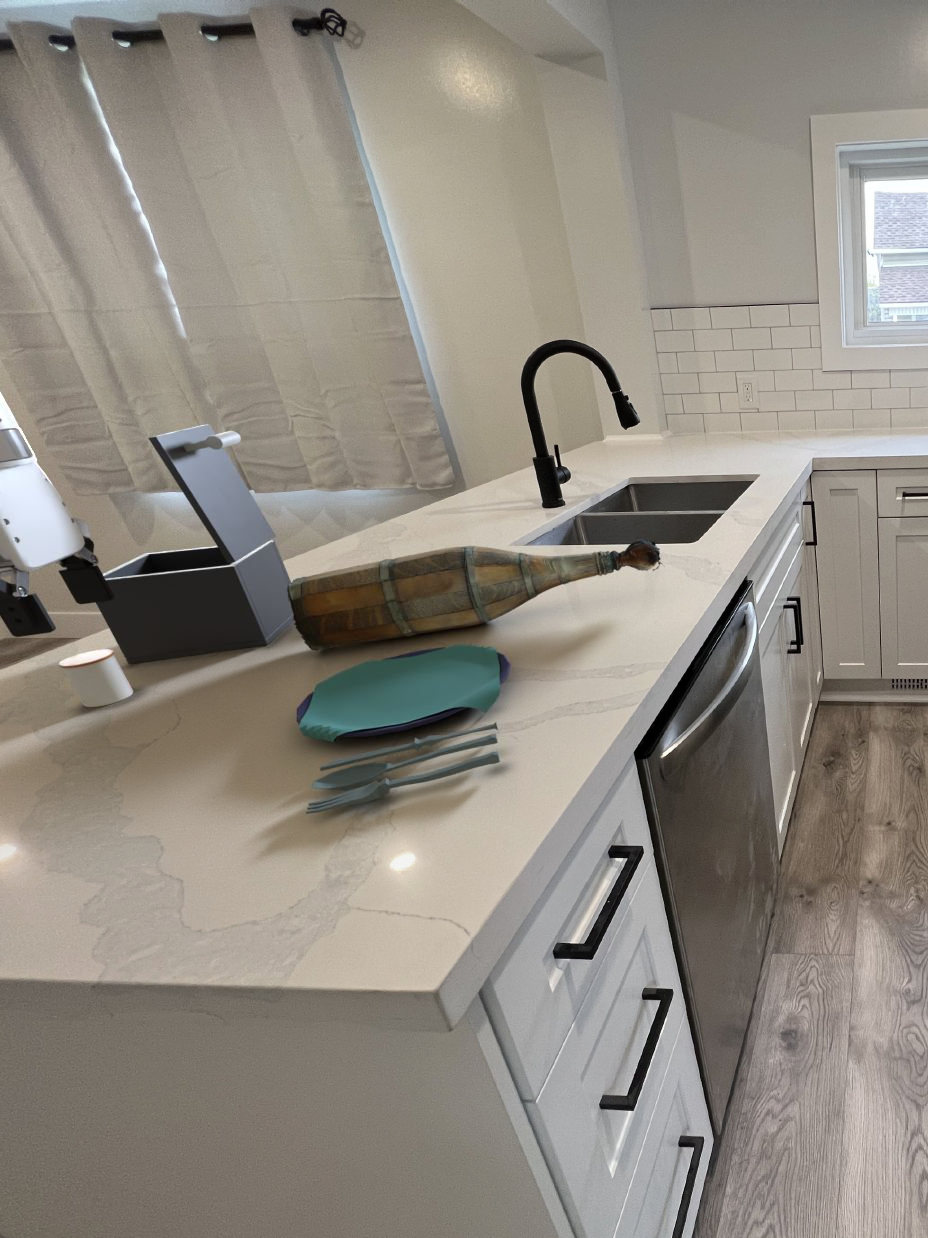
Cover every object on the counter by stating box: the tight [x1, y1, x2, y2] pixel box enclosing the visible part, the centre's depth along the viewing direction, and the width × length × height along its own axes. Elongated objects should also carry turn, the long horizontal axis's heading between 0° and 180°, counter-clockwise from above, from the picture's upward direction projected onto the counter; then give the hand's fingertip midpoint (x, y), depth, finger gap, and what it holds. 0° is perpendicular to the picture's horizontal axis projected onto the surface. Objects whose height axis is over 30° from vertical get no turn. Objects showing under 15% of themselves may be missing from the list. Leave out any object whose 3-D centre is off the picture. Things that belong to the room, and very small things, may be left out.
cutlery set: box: [295, 643, 512, 815], centre depth 71 cm, size 20×30×2 cm, turn 27°
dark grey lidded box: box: [95, 539, 295, 665], centre depth 91 cm, size 15×13×11 cm
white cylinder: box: [58, 648, 134, 708], centre depth 77 cm, size 4×4×5 cm
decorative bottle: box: [287, 539, 665, 652], centre depth 94 cm, size 11×11×45 cm
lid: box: [148, 423, 277, 563], centre depth 88 cm, size 15×13×5 cm
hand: (68, 616), depth 74 cm, fingers open, 9 cm apart
